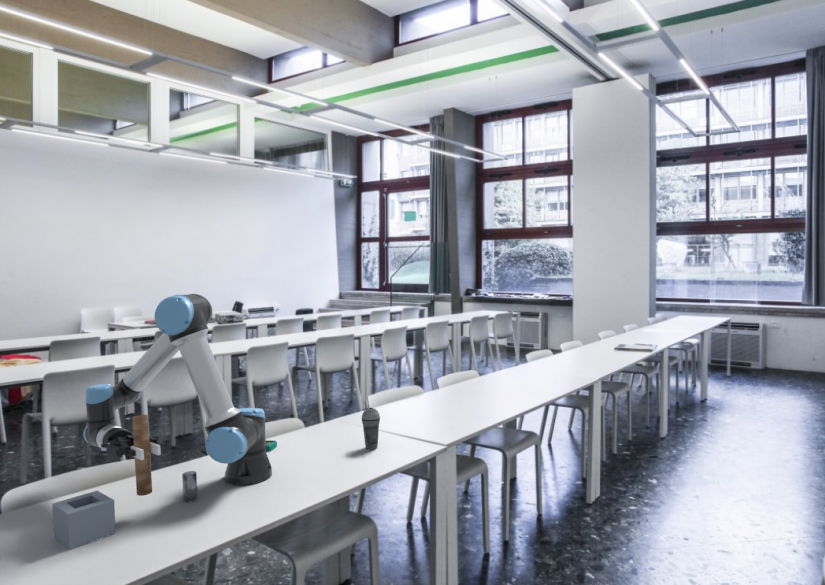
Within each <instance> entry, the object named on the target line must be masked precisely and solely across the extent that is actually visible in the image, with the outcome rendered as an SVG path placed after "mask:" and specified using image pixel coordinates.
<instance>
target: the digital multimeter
mask: <svg viewBox="0 0 825 585" xmlns="http://www.w3.org/2000/svg"><path fill="white" fill-rule="evenodd" d="M277 447H278V442H277V440H272V439H271V440H266V452H272V451H273V450H274V449H275V448H277Z"/></svg>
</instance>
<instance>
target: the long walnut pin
mask: <svg viewBox="0 0 825 585" xmlns="http://www.w3.org/2000/svg"><path fill="white" fill-rule="evenodd" d="M131 419H132V435H133V438H134V446H135V447H138V448H140V449H143V450H144V460H140V459H137V458H135V457H134V468H135V472H134V473H135V483H136V484H135V486H136V495H137V496H147V495H150V494H153V482H152V466H151V463H152V461H151V453H150V443H149V436H150V429H149V427H150V426H149V425H150V424H149V415H148V414H139V415H138V414H137V415H134V416H132V417H131Z"/></svg>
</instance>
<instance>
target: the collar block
mask: <svg viewBox="0 0 825 585" xmlns="http://www.w3.org/2000/svg"><path fill="white" fill-rule="evenodd" d="M51 506H52V523H53V525H52V526H53V538H54V539H55V540H57V541H58V542H59V543H60V544H62V545H63V546H64V547H65V548H66V549H68V550H72V549H76V548H78V546H79V547H81V545H82V546H84V544H85V545H87V544H90V543H92V541H93V542H95V541H98V540H97V539H99V540H101V539H100V538H102V539H104V538H107V537H109V536H108V535H110V536H112V535H111V534H113V535H115V534H114V533H117V532H116V530H117V529H116V510H115V506H116V505H115V499H113V498H112V497H109V496H108V495H106V494H105V493H103V492H101V491H99V490H94V491H91V492H87V493H84V494H81V495H77V496H74V497H70V498H67V499H63V500H60V501H57V502H53V503H52V505H51ZM106 536H107V537H106ZM103 537H104V538H103Z"/></svg>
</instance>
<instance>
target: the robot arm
mask: <svg viewBox="0 0 825 585" xmlns="http://www.w3.org/2000/svg"><path fill="white" fill-rule="evenodd" d="M212 317H213V307H212V304H211V303H210V301H209V300H208V299H207V298H206V297H205V296H203V295H200V294H197V293H190V294H174V295H171V296H168V297H166V298H164V299H162V300H161V301H159V303H158V305H157V306H156V309H155V311H154V322H155V326H156V327H157V328H158V330H159V331H161V333H162V334H161V335H160V336H159V337H158V338H157V339H156V341H155V342H154V343H153V344H152V345H151V346H150V347H149V348H148V349H147V351H146V352H144V354H143V355H142V356H141V357H140V358H139V359H138V360H137V362H136V363H135V364H134V365H133V366H132V367H131V368H130V369H129V371H127V373H126V374H125V375H124V376H123V377H122V378H121V380H120V381H119V382H118V383H116V384H115V385H114V386H113V385H112V384H110V383H101V384H100V383H99V384H94V385H90V386H88V387H87V388H86V389H85V407H86V409H85V410H86V419H87V422H86V423H87V425H86V426H85V428H84V430H83V439H84V440H85V441H86V443H88V444H89V445H90V446H92V447H94V448H95V447H97V448H99V449H101V450H100V451H101V454H107V455H110V456H113V457H115V458H118V459H119V458H123V456H125V460H129V459H131V457H132V458H134V459H135V458H137V459H140V460H144V450H143V449H140V448H138V447H135V446H134V438H133V433H132V432H131V431H130V430H129V429H126V428H123V427H121V426H118V425H115V424H116V423H115V411H116V410H119V409H121V408H124V407H126V406H130V405H132V404H134V403H135V402H137V401H138V400H139V399H140V398H141V396H142V392H143V390H144V389H145V388H146V387H147V386H148V385H149V384H150V383H151V381H152V380H154V379H155V377H156V376H157V375H158V374H159V373H160V372H161V371H162V370H163V369H164V368H165V367H166V365H167V364H168V363H169V362H170V360H172V359H173V358H174V357H175V356H176V354H177V353H178V352H179V353H180V355H181V357H182V359H183V360H182V361H183V363H184V364H185V368H186V370H187V373H188V374H189V378H190V380H191V382H192V385H193V388H194V389H195V392H196V395H197V398H198V400H199V403H200V405H201V408H202V410H203V413H204V415H205V417H206V420H205V422H204V424H203V425H204V426H203V428H204V429H205V432H206V434H207V436H206V440H205V449H206V450H205V451H206V453H207V454H208V455H209V457H210V458H211V459H212V460H213V461H215V462H218V463H220V464H225V465H226V464H227V465H226V469H225V472H224V480H225V482H226V483H228V484H231V485H237V484H241V485H242V484H245V485H252V484H256V483H257V484H258V483H260V482H264V481H266V480H268V479H270V478H271V477H272V476H273V467H272V465H271V462H270V460H269V457H268V454H267V451H266V441H267V438H266V416H265V414H266V413H265V411H264V409H263V408H259V407H242V408H237V407H235V406H234V404H233V402H232V399H231V396H230V394H229V392H228V388H227V386H226V383H225V381H224V379H223V376H222V373H221V371H220V369H219V366H218V364H217V361H216V358H215V356H214V354H213V351H212V348H211V346H210V343H209V341H208V338H207V334H208V332H209V327H208V324H209V323H210V321H211V319H212ZM149 443H150V454H153V455H156V456H160V455H162V454H161V453H162V451H161V444H159V440H158V439H157V437H154V436H151V435H149ZM241 485H240V486H241Z"/></svg>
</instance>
